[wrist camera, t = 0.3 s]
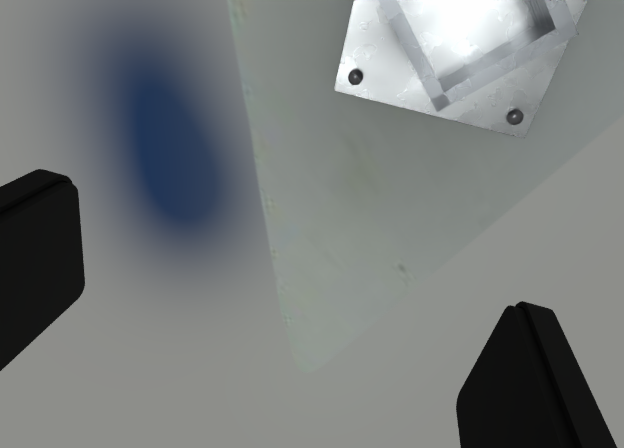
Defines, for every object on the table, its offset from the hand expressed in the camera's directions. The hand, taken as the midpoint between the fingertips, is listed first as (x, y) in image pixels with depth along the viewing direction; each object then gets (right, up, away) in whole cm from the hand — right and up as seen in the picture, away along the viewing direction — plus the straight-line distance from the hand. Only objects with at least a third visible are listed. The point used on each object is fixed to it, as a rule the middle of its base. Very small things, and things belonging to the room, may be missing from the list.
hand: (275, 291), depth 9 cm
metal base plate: (+12, +18, +24) cm, 32 cm away
